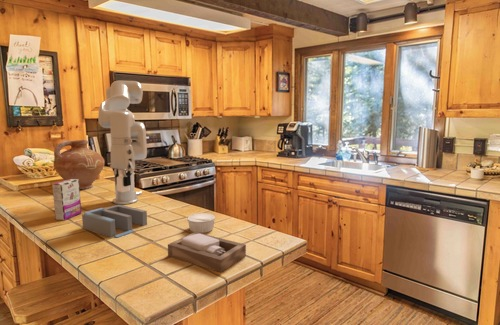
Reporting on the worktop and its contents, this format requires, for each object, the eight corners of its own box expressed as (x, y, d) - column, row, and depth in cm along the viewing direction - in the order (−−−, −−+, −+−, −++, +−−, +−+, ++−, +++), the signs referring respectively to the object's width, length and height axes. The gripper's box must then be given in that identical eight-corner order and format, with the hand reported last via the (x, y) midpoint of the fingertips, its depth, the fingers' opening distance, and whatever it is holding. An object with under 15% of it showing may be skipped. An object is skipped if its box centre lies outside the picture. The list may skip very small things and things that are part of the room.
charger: (213, 263, 104) (180, 251, 113) (232, 256, 111) (200, 245, 120) (214, 249, 104) (181, 237, 112) (233, 242, 111) (201, 232, 120)
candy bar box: (72, 212, 158) (70, 178, 156) (81, 213, 157) (79, 179, 155) (54, 220, 147) (51, 183, 145) (64, 220, 146) (61, 184, 144)
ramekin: (189, 235, 131) (188, 222, 130) (186, 226, 142) (186, 214, 141) (217, 233, 134) (217, 220, 133) (212, 223, 145) (212, 212, 144)
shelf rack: (119, 217, 152) (118, 203, 151) (151, 225, 141) (150, 210, 140) (82, 228, 137) (81, 213, 136) (115, 238, 126) (114, 222, 125)
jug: (113, 188, 209) (111, 140, 204) (64, 195, 189) (60, 142, 184) (95, 181, 228) (92, 137, 224) (48, 187, 208) (44, 139, 203)
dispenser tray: (195, 242, 124) (195, 231, 123) (245, 255, 113) (245, 244, 112) (168, 255, 112) (167, 244, 112) (221, 272, 101) (221, 260, 100)
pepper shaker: (125, 189, 144) (124, 167, 142) (130, 191, 141) (129, 169, 140) (116, 191, 141) (115, 169, 139) (121, 192, 138) (120, 170, 136)
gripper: (142, 142, 136) (144, 186, 139) (115, 139, 145) (117, 180, 148) (127, 144, 130) (129, 189, 133) (100, 140, 138) (102, 183, 142)
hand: (123, 184), depth 140 cm, fingers closed on pepper shaker, 4 cm apart
